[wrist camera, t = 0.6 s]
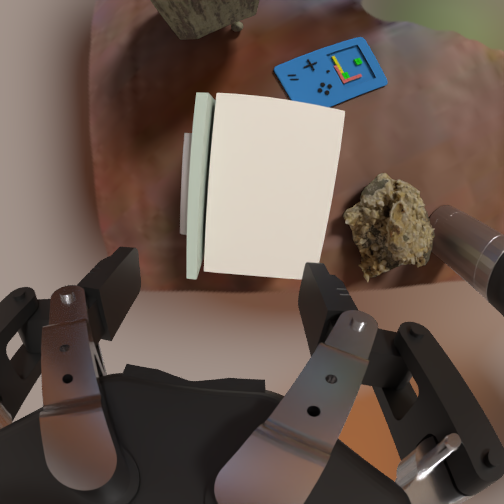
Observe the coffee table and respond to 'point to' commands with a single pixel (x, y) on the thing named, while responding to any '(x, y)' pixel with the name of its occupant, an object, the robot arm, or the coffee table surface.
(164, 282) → the coffee table surface
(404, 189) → the mineral specimen
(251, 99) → the case
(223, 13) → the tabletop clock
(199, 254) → the door
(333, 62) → the handheld gaming device
